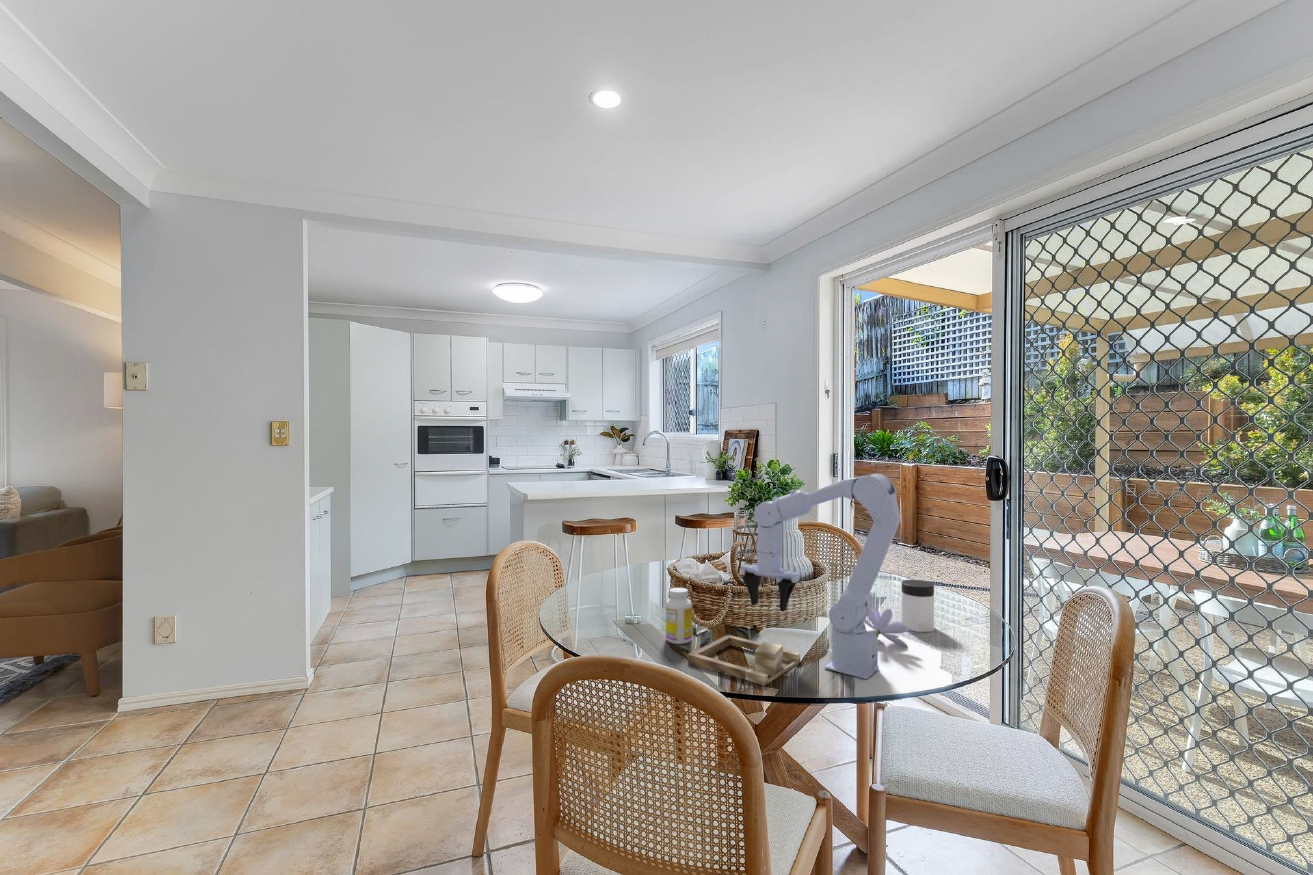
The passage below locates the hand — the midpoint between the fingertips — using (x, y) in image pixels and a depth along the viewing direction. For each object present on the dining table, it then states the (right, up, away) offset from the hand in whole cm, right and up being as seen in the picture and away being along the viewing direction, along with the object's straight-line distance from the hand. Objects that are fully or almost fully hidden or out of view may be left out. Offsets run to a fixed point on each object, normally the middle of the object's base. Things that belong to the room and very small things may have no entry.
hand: (768, 607), depth 145 cm
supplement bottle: (-21, -11, +7) cm, 25 cm away
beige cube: (-2, -11, -12) cm, 16 cm away
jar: (+43, -11, +17) cm, 48 cm away
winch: (-16, -10, +2) cm, 19 cm away
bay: (-7, -11, -8) cm, 15 cm away
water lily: (+30, -11, +4) cm, 32 cm away
